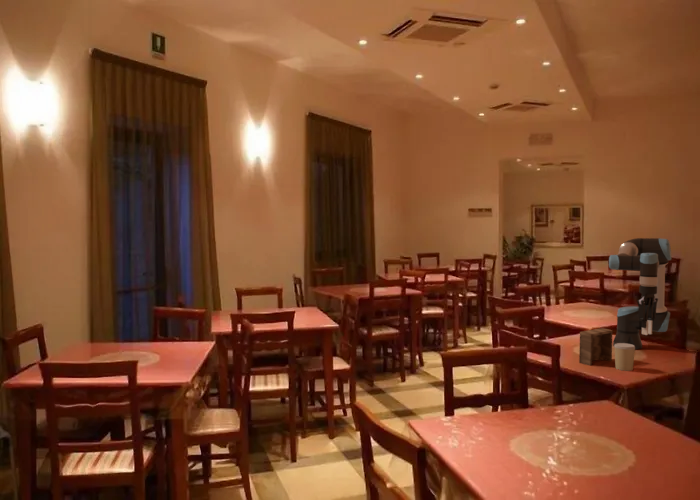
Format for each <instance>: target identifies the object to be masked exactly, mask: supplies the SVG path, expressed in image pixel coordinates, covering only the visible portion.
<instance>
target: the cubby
mask: <svg viewBox="0 0 700 500" xmlns="http://www.w3.org/2000/svg"><path fill="white" fill-rule="evenodd" d="M578 356H579V359H578V360H579V364H583V365H586V366H592V364H593V361H597V360H598V361H599V360H601V361H604V360H605V361H609V362H612V360H613V359H612V358H613V329H612V330H611V329H608V328H603V327H602V328H595V329H590V330H583V331H579V355H578Z"/></svg>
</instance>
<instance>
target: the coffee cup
mask: <svg viewBox="0 0 700 500" xmlns="http://www.w3.org/2000/svg"><path fill="white" fill-rule="evenodd" d="M613 347H614V363H615V364H614V365H615V369H616V370H618V369H619V370H618V371H623V370H624V371H625V372H632V371H633V370H634V363H635V361H634V360H635V353H636V351H635V350H636V349H635V346H634V345H632V344H627V343H616V344H615V345H614V346H613Z"/></svg>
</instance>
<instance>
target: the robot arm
mask: <svg viewBox="0 0 700 500" xmlns="http://www.w3.org/2000/svg"><path fill="white" fill-rule="evenodd" d="M669 261H672V248H671V242H670V240H669V239H668V238H660V237H658V238H657V237H655V238H652V237H649V238H647V237H645V238H644V237H637V238H632V239H629V240H627V241H624V242H623V243H622V244H620V246H619V248H618V253H617V254H610V255H609V257H608V268H609V269H610V270H617V271H638V272H639V286H638V288H639V289H638V291H639V292H638V293H639V294H641V297H640V299H637V305H638V306H633V305H632V306H631V305H630V306H623V307H622V306H621V307H619V308H618V309H617V314H616V334H615V336H614V339H613V340H612V347H614V345H615V344H616V343H627V344H632V345H634V346H635V350H641V349H643V342H642V340H641V336H640V331H641V335H645V336H648V335H653V332H657V333H658V332H659V333H660V332H661V333H662V332H663V333H664V332H667V331H668V327H669V322H670V317H671V312H670V311H668V308H667V307H666V306H665V291H666V290H665V288H666V287H665V286H666V284H665V283H666V265H668V264H669Z"/></svg>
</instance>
